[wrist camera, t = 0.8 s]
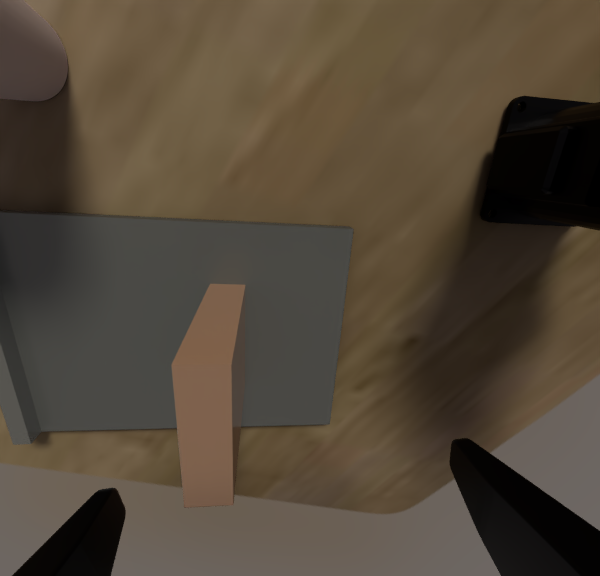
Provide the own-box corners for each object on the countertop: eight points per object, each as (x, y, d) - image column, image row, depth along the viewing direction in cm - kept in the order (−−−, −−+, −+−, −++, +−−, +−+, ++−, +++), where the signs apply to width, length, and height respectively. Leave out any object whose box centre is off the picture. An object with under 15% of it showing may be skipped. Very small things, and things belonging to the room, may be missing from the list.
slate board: (350, 226, 19) (358, 232, 17) (327, 416, 24) (332, 435, 22) (-30, 208, 16) (-63, 213, 15) (33, 422, 21) (13, 444, 20)
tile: (245, 284, 18) (231, 364, 11) (245, 384, 21) (233, 505, 14) (208, 283, 18) (168, 364, 11) (212, 384, 21) (181, 507, 13)
